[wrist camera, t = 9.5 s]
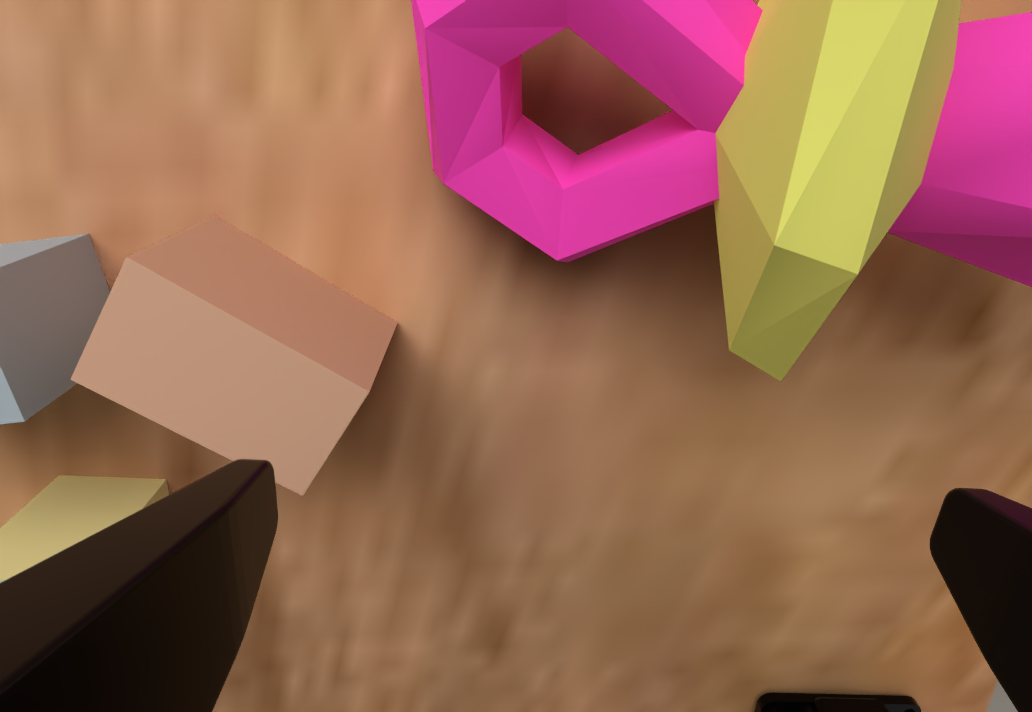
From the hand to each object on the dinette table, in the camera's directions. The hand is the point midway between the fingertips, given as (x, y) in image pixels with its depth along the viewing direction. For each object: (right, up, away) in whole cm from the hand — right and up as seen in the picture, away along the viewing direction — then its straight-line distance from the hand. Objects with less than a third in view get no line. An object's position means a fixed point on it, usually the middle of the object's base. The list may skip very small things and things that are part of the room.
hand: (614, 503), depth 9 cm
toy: (+5, +9, +10) cm, 14 cm away
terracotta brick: (-8, +3, +12) cm, 15 cm away
